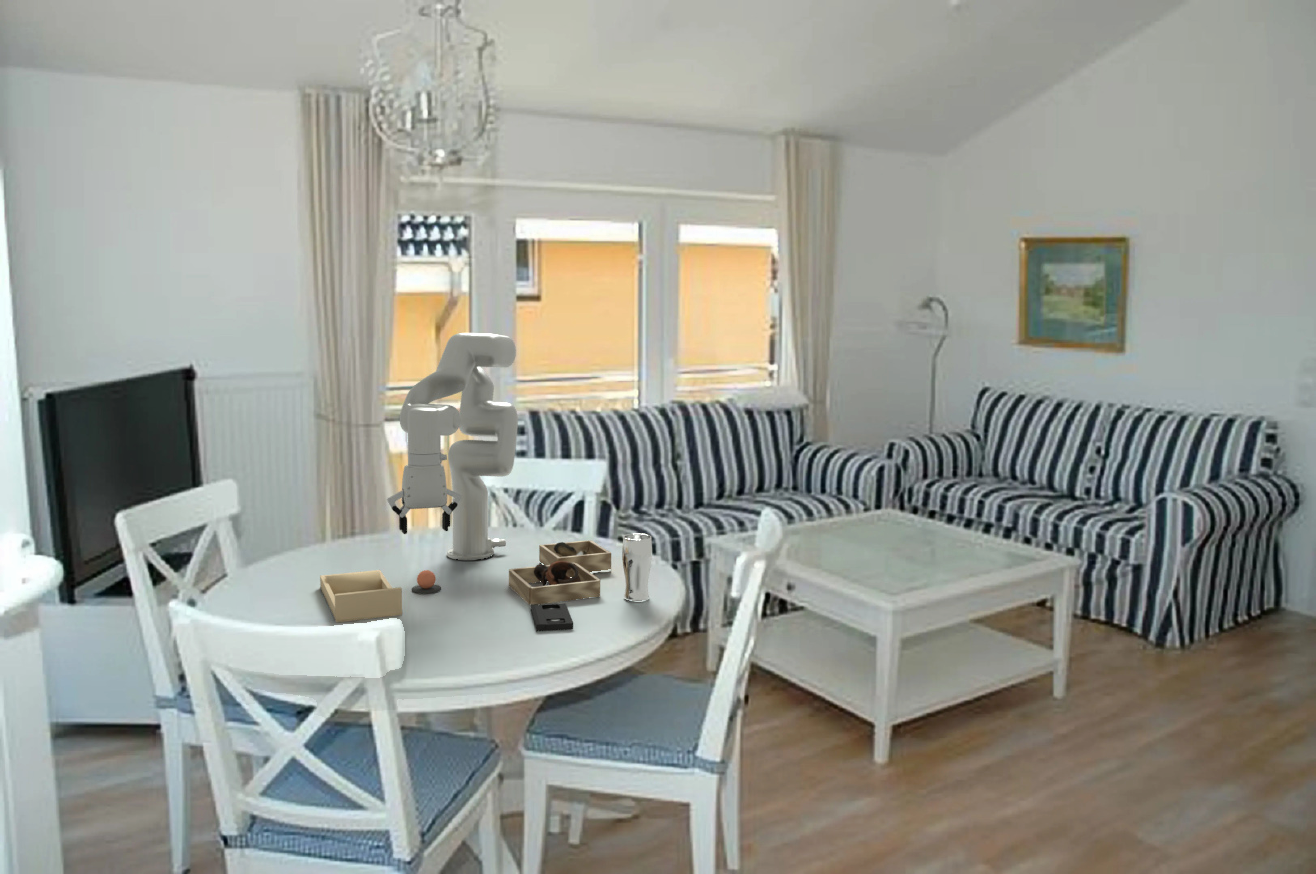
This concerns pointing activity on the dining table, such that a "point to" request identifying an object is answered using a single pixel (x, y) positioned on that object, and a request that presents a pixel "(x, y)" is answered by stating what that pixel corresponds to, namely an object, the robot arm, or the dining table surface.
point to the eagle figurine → (567, 550)
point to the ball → (426, 579)
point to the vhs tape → (551, 617)
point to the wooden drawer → (360, 596)
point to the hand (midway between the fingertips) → (424, 531)
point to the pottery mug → (556, 573)
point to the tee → (431, 590)
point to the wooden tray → (591, 562)
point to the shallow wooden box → (553, 586)
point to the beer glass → (636, 565)
